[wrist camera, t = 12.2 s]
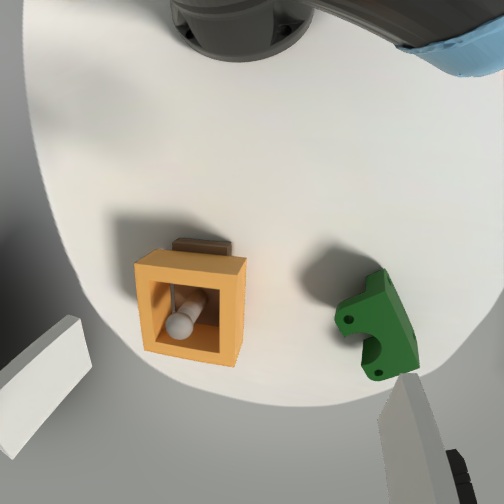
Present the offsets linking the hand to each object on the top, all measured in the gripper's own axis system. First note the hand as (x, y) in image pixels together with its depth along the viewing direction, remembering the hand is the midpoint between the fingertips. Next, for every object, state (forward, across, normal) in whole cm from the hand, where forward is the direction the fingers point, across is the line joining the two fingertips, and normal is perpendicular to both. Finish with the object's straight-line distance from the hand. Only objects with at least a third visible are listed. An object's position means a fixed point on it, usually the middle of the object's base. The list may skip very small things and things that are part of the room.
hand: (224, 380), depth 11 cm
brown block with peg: (+22, -7, -9) cm, 25 cm away
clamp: (+22, +13, -8) cm, 27 cm away
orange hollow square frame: (+20, -7, -8) cm, 23 cm away
